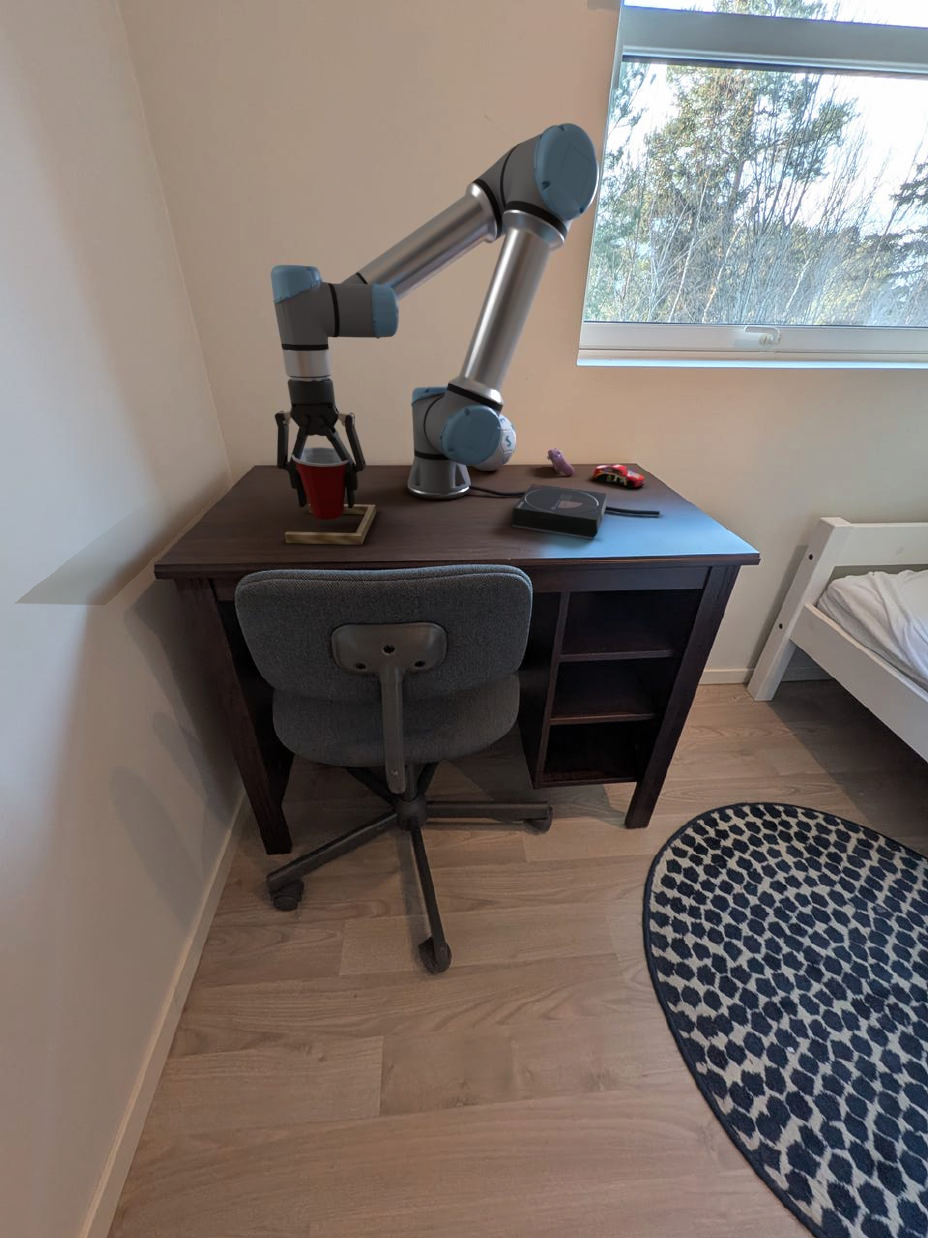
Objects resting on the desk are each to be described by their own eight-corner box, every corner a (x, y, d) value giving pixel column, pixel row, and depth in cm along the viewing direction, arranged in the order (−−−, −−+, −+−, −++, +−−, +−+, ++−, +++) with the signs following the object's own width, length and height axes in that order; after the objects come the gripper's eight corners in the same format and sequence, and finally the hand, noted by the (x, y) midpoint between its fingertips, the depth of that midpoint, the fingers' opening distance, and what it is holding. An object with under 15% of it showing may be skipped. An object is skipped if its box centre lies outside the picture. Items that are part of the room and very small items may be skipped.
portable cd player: (596, 539, 93) (599, 520, 91) (511, 526, 98) (513, 507, 96) (605, 511, 106) (608, 493, 104) (530, 500, 111) (532, 483, 109)
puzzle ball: (511, 479, 124) (515, 418, 116) (454, 475, 126) (454, 414, 118) (516, 463, 136) (520, 407, 128) (464, 460, 138) (465, 404, 130)
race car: (647, 485, 122) (650, 470, 120) (638, 490, 118) (641, 474, 116) (600, 474, 129) (602, 459, 127) (590, 479, 125) (593, 463, 123)
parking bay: (376, 512, 103) (375, 504, 102) (361, 544, 89) (360, 535, 88) (310, 511, 103) (309, 503, 102) (286, 543, 89) (284, 534, 88)
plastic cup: (344, 527, 89) (336, 463, 83) (290, 521, 91) (279, 458, 84) (365, 508, 98) (360, 448, 92) (316, 502, 100) (307, 443, 93)
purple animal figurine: (551, 471, 136) (542, 448, 132) (566, 463, 135) (558, 440, 131) (560, 482, 128) (551, 458, 124) (576, 474, 127) (567, 450, 123)
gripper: (376, 376, 84) (385, 500, 97) (255, 373, 84) (279, 497, 97) (368, 382, 78) (379, 513, 91) (237, 378, 78) (266, 510, 91)
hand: (327, 505), depth 94 cm, fingers closed on plastic cup, 9 cm apart
